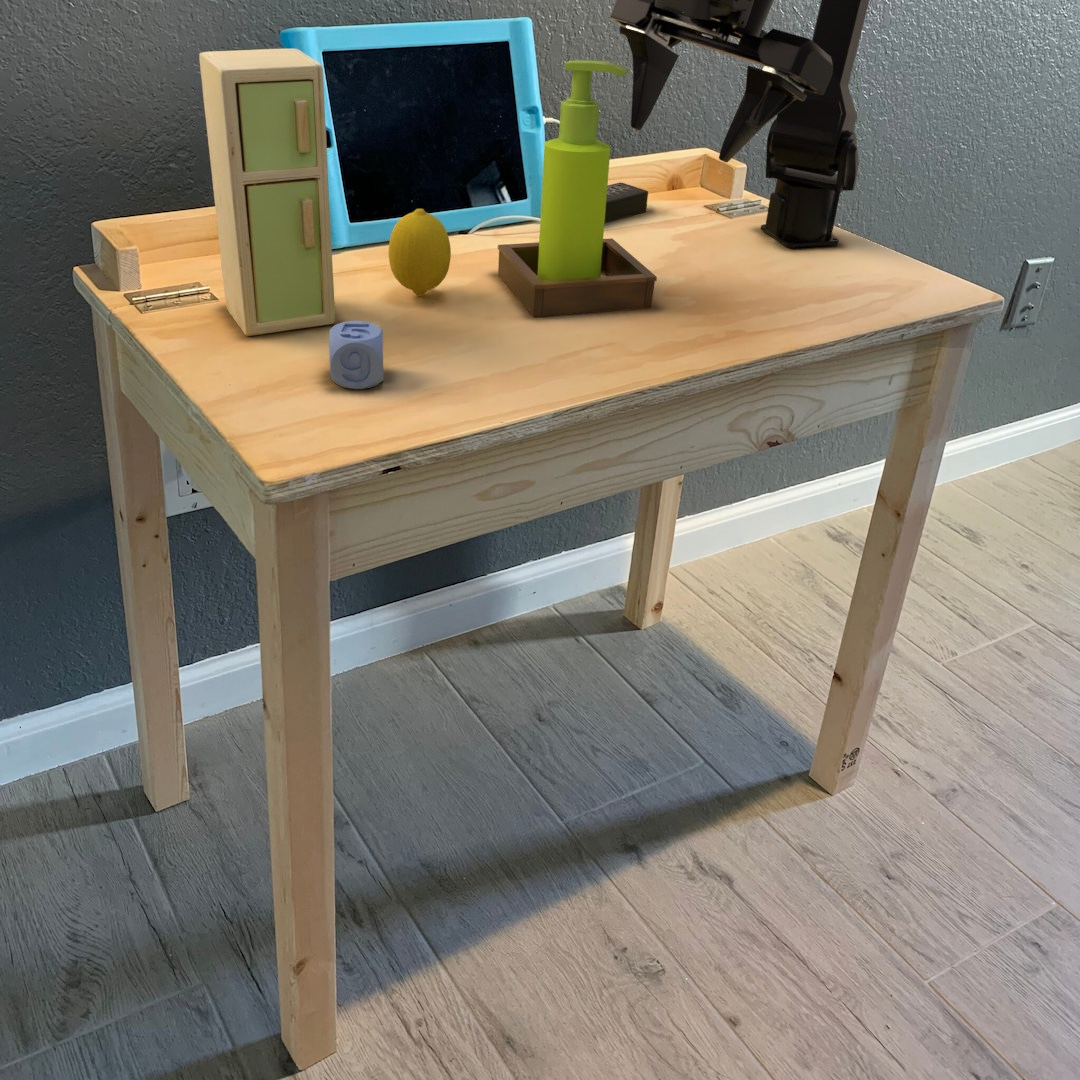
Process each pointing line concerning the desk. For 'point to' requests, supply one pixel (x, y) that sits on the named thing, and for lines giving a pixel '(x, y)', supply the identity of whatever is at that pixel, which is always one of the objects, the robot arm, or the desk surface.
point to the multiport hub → (624, 201)
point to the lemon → (419, 252)
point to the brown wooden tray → (577, 282)
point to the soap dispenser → (575, 183)
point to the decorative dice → (356, 354)
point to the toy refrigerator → (270, 186)
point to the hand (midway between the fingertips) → (677, 144)
